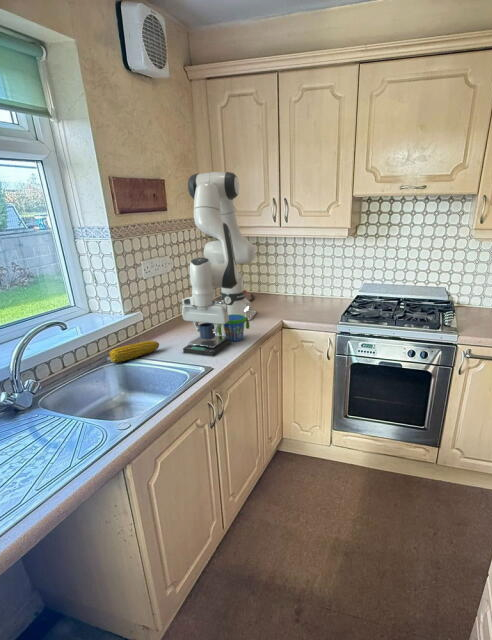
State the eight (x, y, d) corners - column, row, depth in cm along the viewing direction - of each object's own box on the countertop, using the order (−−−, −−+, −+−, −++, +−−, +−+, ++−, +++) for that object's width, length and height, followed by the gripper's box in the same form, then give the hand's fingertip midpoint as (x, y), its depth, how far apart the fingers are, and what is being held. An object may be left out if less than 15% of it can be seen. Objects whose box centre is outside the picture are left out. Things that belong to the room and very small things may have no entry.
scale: (203, 340, 183) (202, 334, 182) (231, 343, 179) (230, 337, 178) (183, 352, 169) (182, 346, 168) (213, 356, 165) (212, 349, 164)
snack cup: (244, 332, 192) (242, 311, 188) (255, 338, 184) (254, 316, 180) (214, 339, 184) (211, 317, 180) (224, 345, 176) (222, 323, 172)
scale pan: (203, 335, 181) (203, 334, 181) (227, 338, 177) (227, 336, 177) (187, 345, 170) (187, 343, 170) (213, 348, 166) (213, 346, 166)
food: (116, 366, 157) (113, 351, 155) (109, 362, 161) (105, 348, 158) (162, 350, 172) (160, 337, 169) (155, 348, 175) (152, 334, 173)
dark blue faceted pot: (204, 334, 176) (203, 322, 174) (217, 335, 174) (216, 323, 172) (197, 338, 171) (196, 326, 169) (210, 340, 169) (209, 327, 167)
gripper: (230, 299, 165) (232, 332, 171) (186, 296, 172) (190, 328, 178) (222, 303, 160) (225, 336, 166) (178, 300, 166) (182, 332, 172)
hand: (207, 332), depth 172 cm, fingers closed on dark blue faceted pot, 6 cm apart
